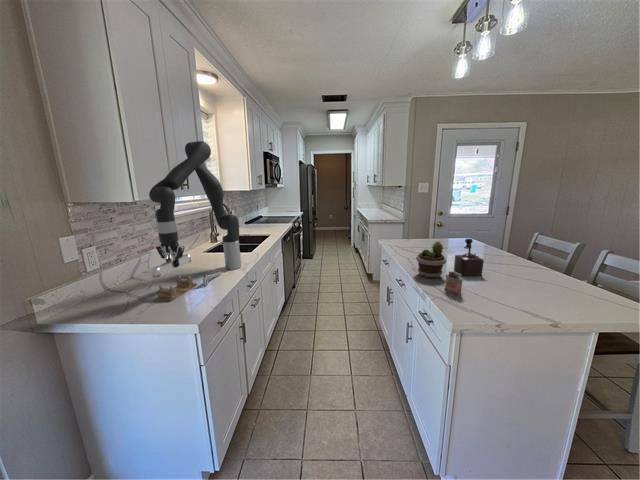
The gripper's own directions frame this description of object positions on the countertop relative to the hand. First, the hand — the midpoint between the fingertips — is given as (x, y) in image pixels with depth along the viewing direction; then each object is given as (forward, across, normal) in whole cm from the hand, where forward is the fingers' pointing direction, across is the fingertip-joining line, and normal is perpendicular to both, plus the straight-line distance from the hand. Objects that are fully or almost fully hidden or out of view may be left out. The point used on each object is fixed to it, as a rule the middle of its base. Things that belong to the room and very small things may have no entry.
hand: (173, 266), depth 120 cm
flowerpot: (+13, -125, -38) cm, 131 cm away
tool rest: (+13, 0, 0) cm, 13 cm away
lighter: (+13, -130, -17) cm, 132 cm away
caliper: (+14, -8, -18) cm, 24 cm away
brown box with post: (+13, -146, -47) cm, 154 cm away
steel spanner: (+1, 0, 0) cm, 1 cm away
